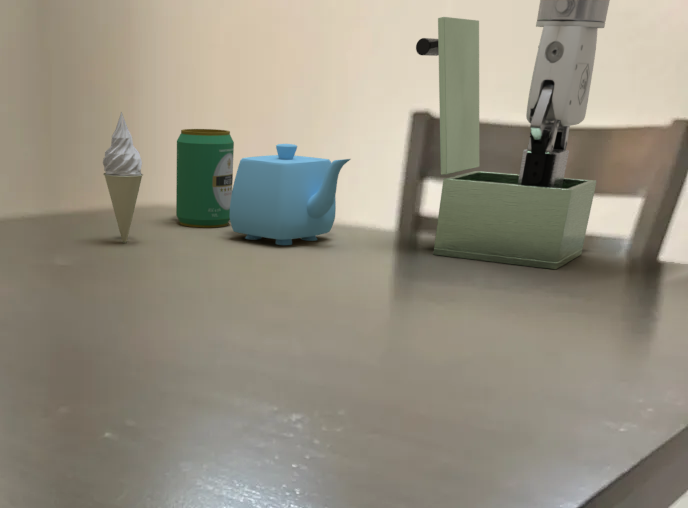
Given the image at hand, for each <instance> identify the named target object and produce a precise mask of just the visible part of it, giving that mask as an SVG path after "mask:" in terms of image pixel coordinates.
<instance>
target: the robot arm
mask: <svg viewBox="0 0 688 508" xmlns="http://www.w3.org/2000/svg"><path fill="white" fill-rule="evenodd" d="M610 1H611V0H539V5H538V10H537V11H538V12H537V15H536V17H537V18H536V23H535V27H536V28H542V30H541V31H542V32H541V35H540V39H539V40H540V41H539V43H538V46H537V53H536V57H535V62H534V67H533V71H532V76H531V81H530V87H529V92H528V99H527V105H526V115H525V116H526V120H527V121H528V123H529V125H530V132H529V139H528V144H527V148H526V149H527V154H526V160H525V166H524V171H523V177H522V183H521V185H529V186H541V187H549V182H550V177H551V172H552V166H553V161H554V156H555V155H551V154H552V151H553V149H557V150H567V148H568V143H569V142H568V141H569V134H570V128H571V126H576V125H579V124H581V123H582V122H584V120H585V119H586V114H587V109H588V102H589V96H590V90H591V84H592V79H593V71H594V65H595V58H596V49H597V44H598V43H597V42H598V29H605V26H606V20H607V15H608V12H609V7H610Z"/></svg>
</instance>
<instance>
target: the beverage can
mask: <svg viewBox="0 0 688 508" xmlns="http://www.w3.org/2000/svg"><path fill="white" fill-rule="evenodd" d="M234 147H235V141H234V139H233V138H232V136H231V131H230V130H225V129H216V128H215V129H214V128H213V129H212V128H184V129H180V134H179V136H178V138H177V139H176V187H175V188H176V189H175V190H176V202H175V203H176V205H175V206H176V208H175V209H176V210H175V211H176V212H175V215H176V218H177V219H178V221H179V224H180V225H181V226H185V227H192V228H204V229H205V228H208V229H209V228H222V227H223V228H224V227H227V226H228V225H229V222H230V216H229V215H230V202H231V195H232V190H233V184H234V182H233V181H234V180H233V179H234V177H233V176H234V151H235V149H234Z"/></svg>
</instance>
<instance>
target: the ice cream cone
mask: <svg viewBox="0 0 688 508" xmlns="http://www.w3.org/2000/svg"><path fill="white" fill-rule="evenodd" d="M113 131H114V132H113V133H112V135H111V143H110V147H108V148H107V150H105V151H104V157H103V159H102V164H103V167H104V168H103V170H104V173H103V174H102V175H103V176H104V178H105V179H104V180H105V182H106V186H107V189H108V193H109V198H110V200H111V205H112V208H113V212H114V216H115V220H116V223H117V226H118V231H119V234H120V238H121V242H122V243H123V244H127V242H128V238H129V233H130V230H131V226H132V221H133V217H134V212H135V208H136V205H137V204H136V203H137V200H138V195H139V191H140V186H141V182H142V178H143V176H144V174H143V173H142V165H143V161H142V157H141V155H140V151H138V149H136V147H135V146H134V141H133V136H132V134H131V131H130V130H129V127H128V124H127V122H126V120H125V117H124V114H123V111H120V115H119V118H118V121H117V124H116V127H115V129H114V130H113Z"/></svg>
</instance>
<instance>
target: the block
mask: <svg viewBox="0 0 688 508" xmlns="http://www.w3.org/2000/svg"><path fill="white" fill-rule="evenodd" d="M569 152H570V150H569V149H566V150H557V149H553V151H552V154H551V155H555V156H554V161H553V166H552V172H551V177H550V182H549V187H553V188H562V185H563V180H564V178H565V174H566V169H567V165H568V164H567V163H568V159H569V154H570V153H569ZM526 154H527V148H526V149H523V151H522V156H521V162H520V167H519V173H518V174H519V179H518V185H521V183H522V177H523V171H524V166H525V160H526Z"/></svg>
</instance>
